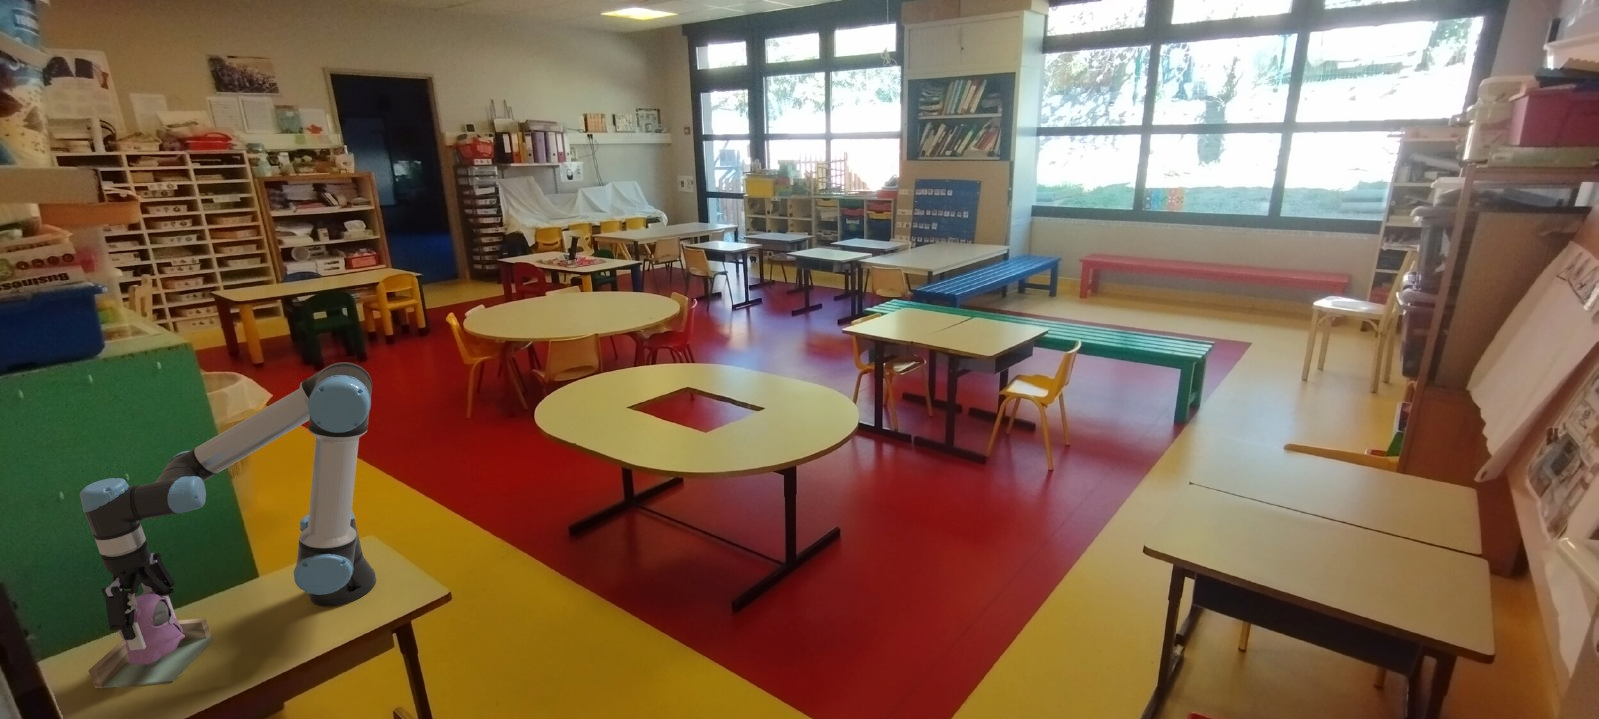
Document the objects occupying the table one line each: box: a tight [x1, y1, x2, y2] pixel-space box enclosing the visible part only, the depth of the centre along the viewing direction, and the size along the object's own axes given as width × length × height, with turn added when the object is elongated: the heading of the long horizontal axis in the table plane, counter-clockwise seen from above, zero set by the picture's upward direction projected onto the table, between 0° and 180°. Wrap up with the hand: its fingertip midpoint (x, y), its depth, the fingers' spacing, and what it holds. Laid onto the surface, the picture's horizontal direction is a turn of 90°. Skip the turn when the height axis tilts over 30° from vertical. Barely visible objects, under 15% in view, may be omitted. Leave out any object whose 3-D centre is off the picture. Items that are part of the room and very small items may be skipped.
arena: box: [88, 617, 214, 689], centre depth 167 cm, size 16×16×5 cm
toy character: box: [117, 583, 185, 667], centre depth 163 cm, size 12×10×20 cm
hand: (154, 633), depth 164 cm, fingers closed on toy character, 9 cm apart
